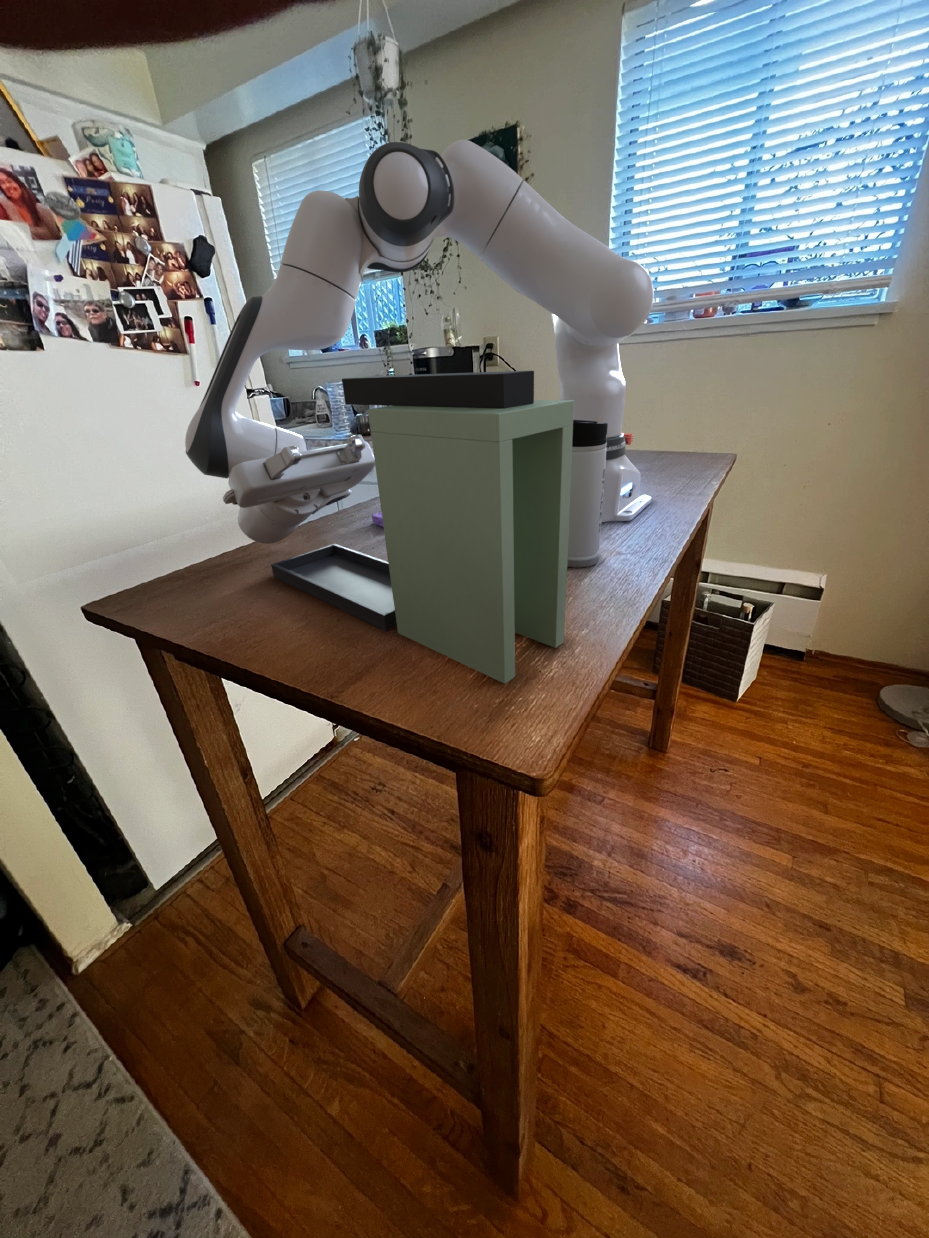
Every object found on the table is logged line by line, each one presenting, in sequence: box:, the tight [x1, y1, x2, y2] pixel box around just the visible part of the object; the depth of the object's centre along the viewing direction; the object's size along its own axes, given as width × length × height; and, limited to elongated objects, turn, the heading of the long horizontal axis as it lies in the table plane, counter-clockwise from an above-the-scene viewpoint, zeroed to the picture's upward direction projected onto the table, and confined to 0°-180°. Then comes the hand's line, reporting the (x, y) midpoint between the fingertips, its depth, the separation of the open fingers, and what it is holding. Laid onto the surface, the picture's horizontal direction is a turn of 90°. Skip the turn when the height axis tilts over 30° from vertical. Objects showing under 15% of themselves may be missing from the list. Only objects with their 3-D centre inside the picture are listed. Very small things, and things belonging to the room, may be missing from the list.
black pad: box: [341, 370, 535, 409], centre depth 47 cm, size 4×22×2 cm, turn 46°
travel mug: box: [567, 420, 608, 569], centre depth 70 cm, size 6×7×20 cm
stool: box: [367, 399, 574, 685], centre depth 50 cm, size 10×16×24 cm, turn 46°
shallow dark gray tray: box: [270, 543, 397, 632], centre depth 70 cm, size 11×27×2 cm, turn 46°
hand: (328, 445), depth 62 cm, fingers open, 8 cm apart
